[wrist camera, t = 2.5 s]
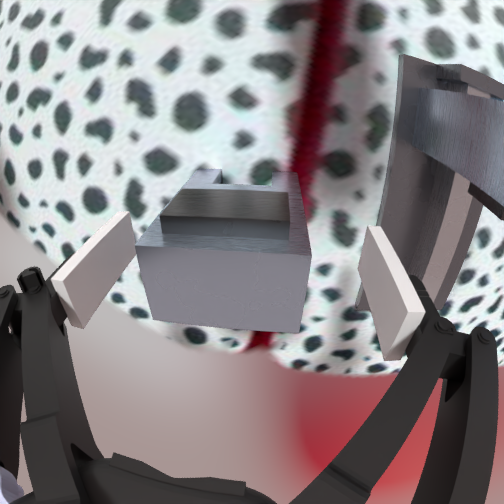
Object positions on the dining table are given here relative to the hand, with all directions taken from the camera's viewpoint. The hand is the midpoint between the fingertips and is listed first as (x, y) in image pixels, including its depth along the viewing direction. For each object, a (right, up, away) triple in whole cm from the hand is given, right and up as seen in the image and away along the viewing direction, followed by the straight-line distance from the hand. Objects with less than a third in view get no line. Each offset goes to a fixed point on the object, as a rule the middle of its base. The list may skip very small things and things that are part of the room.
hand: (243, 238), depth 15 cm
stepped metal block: (0, +3, +4) cm, 5 cm away
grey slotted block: (+14, +3, +3) cm, 15 cm away
